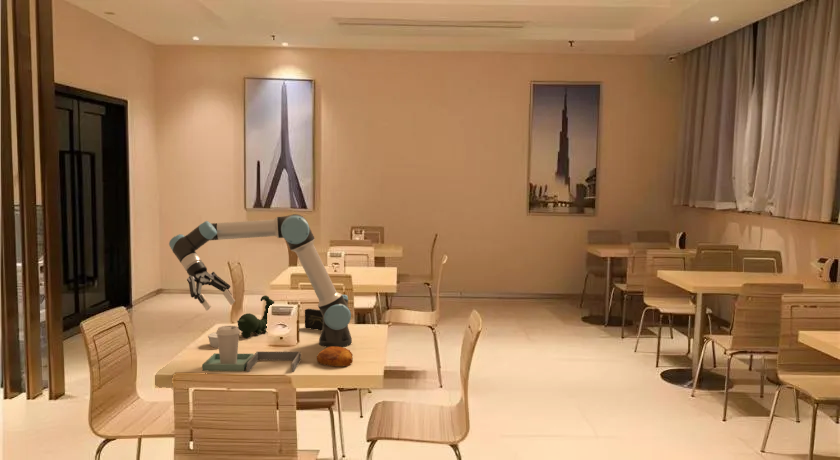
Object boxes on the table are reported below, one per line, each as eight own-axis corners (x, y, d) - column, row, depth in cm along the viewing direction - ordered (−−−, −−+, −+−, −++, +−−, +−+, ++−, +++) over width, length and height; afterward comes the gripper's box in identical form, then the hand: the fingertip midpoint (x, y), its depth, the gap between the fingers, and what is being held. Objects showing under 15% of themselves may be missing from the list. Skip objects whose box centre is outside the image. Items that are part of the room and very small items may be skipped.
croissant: (339, 375, 275) (341, 356, 274) (310, 364, 283) (311, 345, 282) (360, 365, 288) (362, 347, 286) (332, 355, 295) (333, 337, 294)
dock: (300, 359, 289) (300, 351, 289) (293, 372, 271) (293, 363, 271) (256, 359, 289) (256, 351, 288) (246, 371, 271) (246, 363, 270)
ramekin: (209, 349, 304) (209, 338, 304) (206, 343, 315) (206, 332, 314) (235, 347, 309) (235, 335, 308) (231, 341, 319) (231, 330, 319)
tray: (253, 359, 289) (253, 353, 288) (244, 370, 272) (244, 364, 272) (214, 359, 288) (214, 353, 288) (202, 370, 272) (202, 364, 271)
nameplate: (304, 328, 347) (304, 309, 347) (307, 327, 349) (307, 308, 348) (338, 333, 337) (338, 313, 336) (340, 332, 339) (340, 312, 338)
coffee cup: (234, 367, 275) (233, 331, 273) (212, 365, 276) (211, 329, 275) (244, 361, 284) (244, 325, 283) (223, 359, 286) (223, 324, 284)
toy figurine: (262, 331, 346) (228, 338, 323) (264, 293, 345) (230, 297, 322) (278, 334, 341) (244, 340, 318) (279, 295, 341) (246, 299, 318)
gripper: (212, 268, 298) (238, 306, 292) (166, 276, 276) (193, 316, 270) (220, 257, 295) (247, 295, 289) (175, 264, 273) (202, 304, 267)
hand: (221, 305), depth 280 cm, fingers open, 13 cm apart
